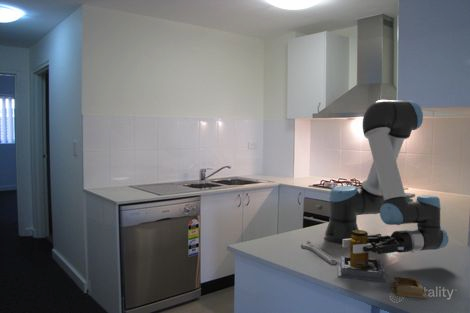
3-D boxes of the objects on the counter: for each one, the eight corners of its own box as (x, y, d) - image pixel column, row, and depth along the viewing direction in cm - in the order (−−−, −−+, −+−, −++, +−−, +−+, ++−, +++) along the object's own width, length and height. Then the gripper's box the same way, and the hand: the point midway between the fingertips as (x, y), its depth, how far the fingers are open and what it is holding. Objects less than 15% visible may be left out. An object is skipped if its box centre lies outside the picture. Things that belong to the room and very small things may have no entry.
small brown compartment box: (390, 283, 120) (390, 275, 120) (420, 286, 118) (421, 278, 118) (393, 295, 112) (394, 286, 112) (427, 298, 109) (427, 290, 109)
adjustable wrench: (338, 265, 137) (339, 261, 137) (322, 267, 136) (322, 262, 136) (313, 244, 162) (313, 240, 161) (298, 245, 160) (298, 241, 160)
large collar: (338, 261, 140) (338, 254, 139) (381, 265, 136) (381, 258, 135) (338, 277, 125) (338, 269, 125) (386, 282, 121) (386, 274, 121)
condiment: (347, 261, 134) (348, 228, 133) (372, 262, 132) (373, 229, 132) (350, 269, 127) (351, 234, 126) (376, 270, 125) (377, 235, 124)
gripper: (425, 260, 125) (363, 266, 119) (388, 243, 143) (334, 248, 138) (426, 238, 125) (364, 243, 119) (389, 224, 143) (334, 228, 137)
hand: (348, 246), depth 128 cm, fingers closed on condiment, 6 cm apart
